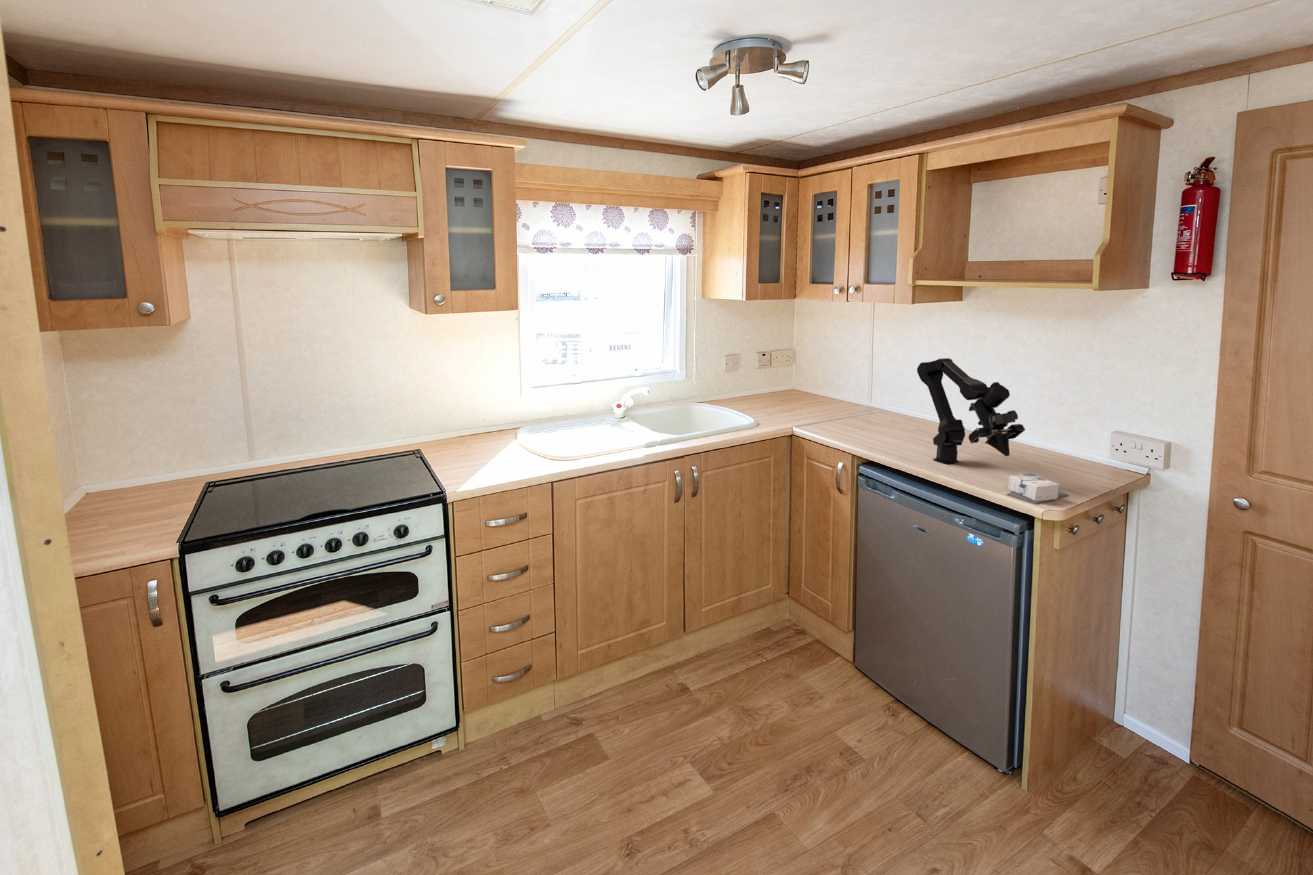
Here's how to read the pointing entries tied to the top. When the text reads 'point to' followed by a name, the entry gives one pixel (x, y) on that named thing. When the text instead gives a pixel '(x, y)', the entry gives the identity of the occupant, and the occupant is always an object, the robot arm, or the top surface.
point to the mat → (1031, 499)
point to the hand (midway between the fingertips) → (1007, 455)
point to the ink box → (1033, 487)
